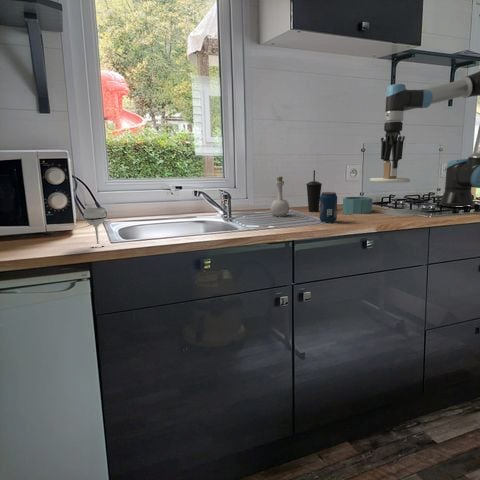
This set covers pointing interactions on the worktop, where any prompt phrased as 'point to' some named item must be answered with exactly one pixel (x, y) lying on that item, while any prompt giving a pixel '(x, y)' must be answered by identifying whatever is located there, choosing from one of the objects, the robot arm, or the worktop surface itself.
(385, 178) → the lid
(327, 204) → the soda can
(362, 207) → the bowl
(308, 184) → the drinking cup
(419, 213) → the mat
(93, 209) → the wineglass
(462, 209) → the worktop surface
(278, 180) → the potion bottle
